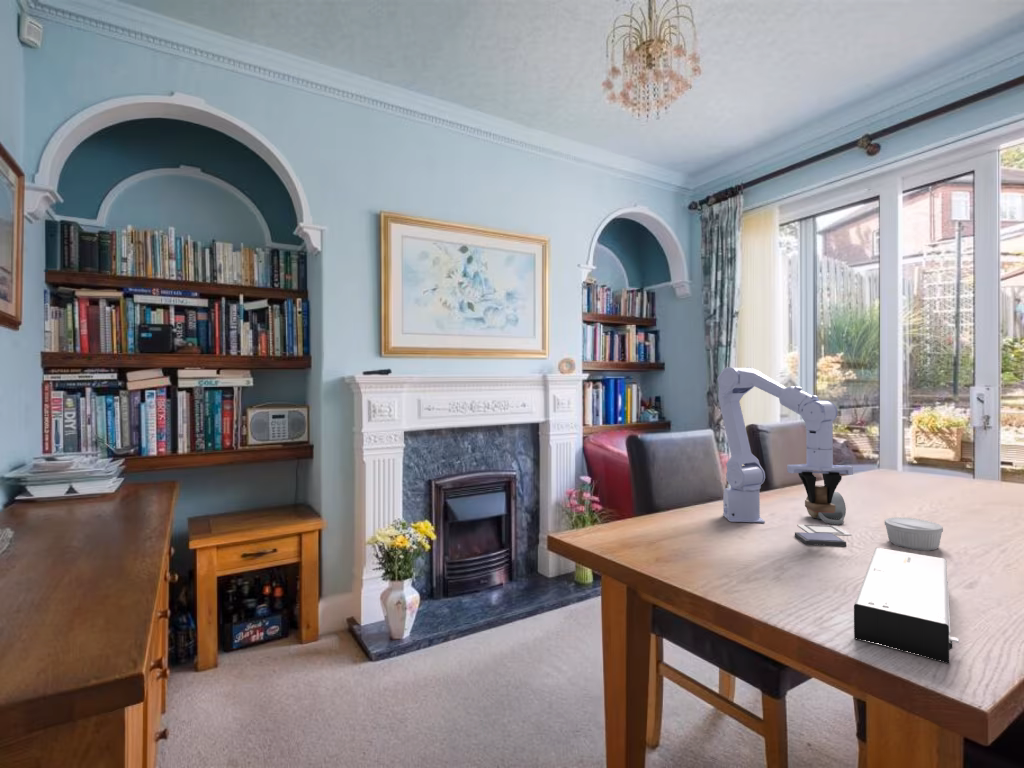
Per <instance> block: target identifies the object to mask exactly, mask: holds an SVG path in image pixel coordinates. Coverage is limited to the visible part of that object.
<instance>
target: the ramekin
mask: <svg viewBox="0 0 1024 768" xmlns="http://www.w3.org/2000/svg"><path fill="white" fill-rule="evenodd" d="M884 526H885V528H886V533H887V534H886V535H887V537H888V540H889V541H890V542H891V544H893V545H896V546H897V547H902V548H904V549H905V548H906V549H909V550H919V551H933V550H934V551H935V550H936V549H938V548H939V547H940V545H941V538H942V533H943V531H944V528H943V526H942V525H941V524H939V523H936V522H933V521H929V520H924V519H920V518H912V517H902V516H901V517H899V516H897V517H889V518H886V519H884Z"/></svg>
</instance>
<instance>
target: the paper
mask: <svg viewBox="0 0 1024 768" xmlns="http://www.w3.org/2000/svg"><path fill="white" fill-rule="evenodd" d="M797 526H798V527H799V528H800V529H802V530H804V532H805V533H832V534H834V535H836V536H852V534H851V533H850V532H848V531H846V530H845V529H843V528H841V527H840V526H837V525H825V524H822V525H819V524H797Z"/></svg>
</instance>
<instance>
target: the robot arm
mask: <svg viewBox="0 0 1024 768" xmlns="http://www.w3.org/2000/svg"><path fill="white" fill-rule="evenodd" d="M717 383H718V388H719V389H718V396H717V397H718V403H719V407H720V408H719V409H720V412H721V417H722V421H723V425H724V429H725V435H726V437H727V443H728V447H729V450H730V451H729V453H730V458H729V459H728V461H727V462H726V464H725V465H726V476H725V477H726V481H727V484H729V486H730V487H728V488H727V487H726V488H724V490H723V494H722V495H723V496H722V497H723V499H722V501H723V504H722V505H723V510H722V511H723V513H722V515H723V516H724V518H726V519H727V520H728V521H729V522H730V523H731V522H732V523H733V522H734V523H766V521H765V520H764V519H763V518H762V517H760V516H761V515H760V514H761V511H760V510H761V509H760V508H761V507H760V505H761V504H760V503H761V502H760V501H761V500H760V499H761V498H760V489H761V488H762V486H761V485H762V484H764V482H765V479H766V472H765V470H764V468H763V467H762V466H761V464H760V460H759V459H758V458H757V456H755V455H754V454H753V453H752V450H751V446H750V441H749V436H748V432H747V428H746V425H745V419H744V417H743V411H742V407H741V403H740V401H741V400H742V398H743V396H744V395H746V394H747V393H748V392H749V391H751V390H752V389H754V388H756V389H758V390H759V389H760V390H761V391H762V392H765V393H768V394H769V395H771V396H773V397H776V398H778V401H779V403H780V405H781V406H784V407H785V408H787V409H789V410H790V411H792V412H794V413H796V414H798V415H799V416H801V419H802V420H803V422H804V423H805V427H804V428H805V433H806V434H805V435H806V436H805V437H806V441H805V443H806V444H805V445H806V448H805V451H806V453H805V454H806V457H805V458H806V461H805V462H806V463H800V464H787V465H786V466H787V467H786V469H787V470H786V471H787V473H788V474H798V477H799V478H800V480H801V482H802V484H803V486H804V488H805V489H804V490H805V492H806V497H807V496H808V501H809V502H811V503H815V485H816V482H817V476H815V474H822V478H823V486H826V487H827V503H831V501H832V497H833V494H834V492H836V489H837V487H838V485H839V484H840V482H841V481H842V479H843V476H842V475H853V474H854V467H853V466H851V465H843V464H834V463H833V462H834V448H833V445H834V443H833V441H834V439H833V437H834V436H833V435H834V432H833V431H834V428H833V426H834V421H835V420H836V418H837V417H838V413H839V412H838V408H837V406H836V405H835V404H834V402H831V400H829V399H821V400H820V398H819V396H817V395H815V394H814V395H813V394H810V393H808V392H806V391H804V390H803V387H801V386H800V385H795V386H794V385H790V386H787V387H786V386H784V385H783V384H780V383H779V382H778V381H776V380H774V379H772V378H771V377H770V376H767V375H766V374H764V373H762V372H761V371H760V370H758V369H755V368H753V367H751V366H750V367H749V366H747V367H731V366H730V367H729V366H728V367H725V368H723V369H722V370H721V372H720V374H719V375H718V376H717Z"/></svg>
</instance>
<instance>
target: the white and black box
mask: <svg viewBox="0 0 1024 768" xmlns="http://www.w3.org/2000/svg"><path fill="white" fill-rule="evenodd" d="M949 591H950V590H949V581H948V564H947V559H946V558H943V557H938V556H937V557H936V556H931V555H925V554H920V553H913V552H908V551H902V550H900V551H899V550H895V549H894V550H893V549H888V548H883V547H875V549H874V552H873V554H872V556H871V560H870V562H869V565H868V567H867V570H866V572H865V575H864V578H863V581H862V584H861V586H860V589H859V591H858V593H857V596H856V599H855V602H854V605H853V638H854V639H855V638H857V639H861V640H866V641H870V642H874V643H879V644H882V645H886V646H889V647H893V648H897V649H900V650H903V651H908V652H911V653H915V654H919V655H922V656H926V657H929V658H928V659H930V658H933V659H936V660H935V661H937V660H941V661H944V662H947V663H949V664H950V651H951V650H953V643H957V644H958V643H959V642H960V639H959V637H955V636H951V635H950V634H951V622H950V621H951V620H950V619H951V618H950V615H951V614H950V596H949V594H950V593H949ZM861 640H860V641H861ZM903 651H902V652H903ZM911 653H910V654H911ZM922 656H921V657H922ZM926 657H925V658H926ZM933 659H932V660H933ZM941 661H940V662H941ZM944 662H943V663H944ZM947 663H946V664H947Z"/></svg>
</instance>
